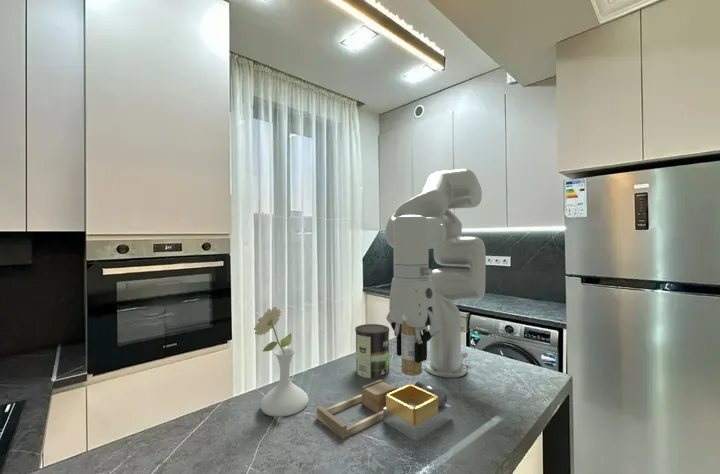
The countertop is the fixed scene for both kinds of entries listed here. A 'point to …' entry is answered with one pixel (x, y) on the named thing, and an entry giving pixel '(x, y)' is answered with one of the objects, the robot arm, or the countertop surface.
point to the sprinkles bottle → (409, 350)
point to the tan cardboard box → (376, 395)
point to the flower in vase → (285, 393)
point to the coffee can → (372, 350)
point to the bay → (339, 426)
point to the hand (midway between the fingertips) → (411, 356)
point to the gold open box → (416, 409)
